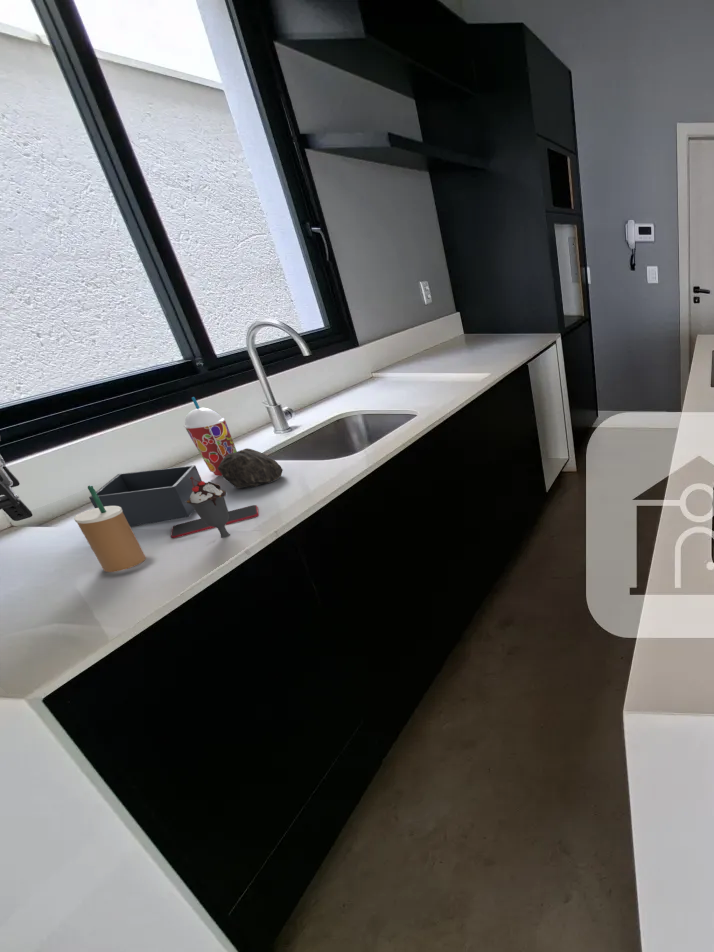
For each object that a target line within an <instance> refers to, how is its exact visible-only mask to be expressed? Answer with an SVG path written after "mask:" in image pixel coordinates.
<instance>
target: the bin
mask: <svg viewBox="0 0 714 952" xmlns="http://www.w3.org/2000/svg"><path fill="white" fill-rule="evenodd" d="M191 477H193V479H194V480H193V479H190V478H191ZM192 480H193V483H194V486H196V485H197V483H198V482H197V481H203V480H202V477H201V475H200V473H199V470H198V468H197V465H196V464H193V465H184V466H176V467H168V468H159V469H149V470H141V471H134V472H133V471H131V472H123V473H117V474H116V475H115V476H114V477H113V478H111V479H110V480H108V481H107V482H106V483H105V484H104V485H103V486H101V487H100V488H99V489H97V491H96V493H97V495H98V497H99V499H100V501H101V502H102V504H103V506H104V507H105V506H119V507H121V508H122V512H123V514H124V516H125V518H126V520H127V522H128V524H129V525H130V527H135V526H142V525H143V526H144V525H150V524H156V523H157V524H158V523H164V522H169V521H175V520H179V519H184V518H189V517H190V516H191V515H192V514H193V513H194V512H195V510H194V508H193V507H192V506H191V505H190V504H187V503H185V501H187V500H188V499H189V498H190V496H191V494H192V488H193V484H192ZM195 480H197V481H195ZM88 498H89V500H90V502H91V504H92V506H93V509H94V508H98V506H97V504H96V502H95V501H94V499H93V497H92V495H90V496H89V497H88Z"/></svg>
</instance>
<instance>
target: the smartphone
mask: <svg viewBox="0 0 714 952" xmlns="http://www.w3.org/2000/svg"><path fill="white" fill-rule="evenodd" d="M228 513H229V520H228V522H227V523H226V524H225V526H227V525H231V524H235V523H238V522H242V521H245V520H250V519H254V518H256V517H259V508H258V505H257V504H253V505H247V506H244V507H241V508H236V509H232V510H228ZM215 528H216V527H212V526H209V525H207V524H205V522H204V521H203V520H202V519H201V518H200V517H199V518H197V519H193V520H189V521H185V522H181V523H178V524H175V525H173V526H172V528H171V534H170V538H171V539H177V538H181V537H185V536H188V535H192V534H196V533H200V532H204V531H207V530H211V529H215Z"/></svg>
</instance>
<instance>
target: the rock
mask: <svg viewBox="0 0 714 952" xmlns="http://www.w3.org/2000/svg"><path fill="white" fill-rule="evenodd" d="M218 470H219V471H220V472H221V474H222V476H221V477H222V478H223V479H224V480H225V481H226V482H228V483H229V484H230V485H231V486H233V487H234V488H237V489H242V488H247V489H248V488H249V489H251V488H257V487H258V486H260V485H268V484H271V483H273V482H275V481H277V480H279V479H280V477H281V476H282V474H283V471H284V469H283V468H282V466H281V465H280V464H279V463H278V462H277V461H276V459H274V458H271V457H269V455H266V454H265V453H264V452H260V451H258V450H256V449H252V448H248V447H247V448H243V449H241V450H238V451H237V452H235V453H230V454H228V455H226V456H225V457H224V458H223V460H222V461H221V463H220V465H219V467H218Z"/></svg>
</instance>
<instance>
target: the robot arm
mask: <svg viewBox="0 0 714 952" xmlns="http://www.w3.org/2000/svg"><path fill="white" fill-rule="evenodd" d="M1 438H2V437H1V435H0V441H2V440H1ZM20 485H21V484H20V481H19V479H18V478H17V477H16V476H15V475H14V474H13V473H12V471H11V470H10V469H9V468H8V467H7V466H6V461H5V460H4V458H3V456H2V455H1V454H0V511H1V510H2V511H3V512H4V513H5V514H6V515H7V516H8V517H9V518H10V519H11V520H12V521H13V522H19V521H22V520H26V519H29V518H32V517H33V513H32V510H30V508H29V507H27V505H26V504H25V502H24V501H22V500H21V499H20V496H19V495H18V494H17V493H16V492H15V491H14V489H13V488H15V487H19V486H20Z"/></svg>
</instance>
